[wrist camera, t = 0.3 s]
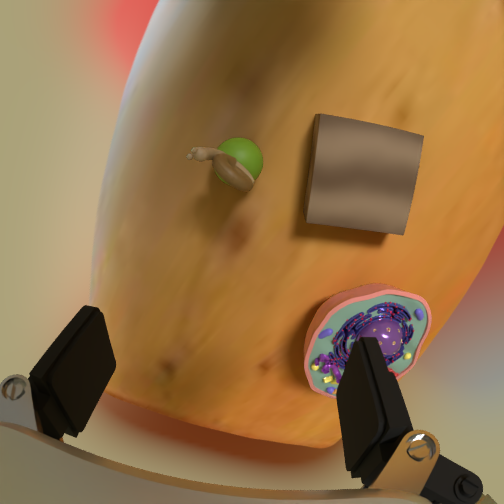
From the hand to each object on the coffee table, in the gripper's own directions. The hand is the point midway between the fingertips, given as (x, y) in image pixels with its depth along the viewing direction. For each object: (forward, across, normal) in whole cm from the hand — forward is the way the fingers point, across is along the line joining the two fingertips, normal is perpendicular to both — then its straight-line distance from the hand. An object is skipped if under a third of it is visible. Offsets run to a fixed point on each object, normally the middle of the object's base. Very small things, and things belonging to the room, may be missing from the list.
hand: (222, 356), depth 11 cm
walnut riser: (+28, -12, -3) cm, 31 cm away
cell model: (+29, -16, +18) cm, 37 cm away
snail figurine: (+28, +3, -3) cm, 29 cm away
